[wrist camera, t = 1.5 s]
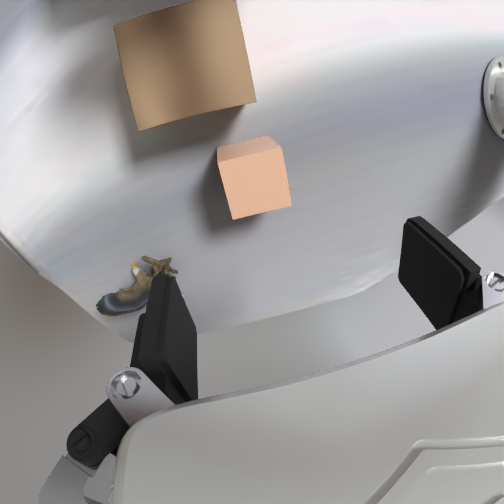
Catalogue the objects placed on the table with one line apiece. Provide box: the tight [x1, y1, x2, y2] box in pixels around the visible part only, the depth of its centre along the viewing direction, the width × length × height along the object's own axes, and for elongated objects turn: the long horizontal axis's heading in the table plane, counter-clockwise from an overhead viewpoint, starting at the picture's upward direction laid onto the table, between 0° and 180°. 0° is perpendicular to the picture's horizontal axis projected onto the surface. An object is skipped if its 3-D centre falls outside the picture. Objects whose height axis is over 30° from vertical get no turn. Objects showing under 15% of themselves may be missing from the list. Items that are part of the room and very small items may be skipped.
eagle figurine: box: [96, 256, 186, 316], centre depth 31 cm, size 8×7×9 cm
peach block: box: [217, 135, 292, 220], centre depth 26 cm, size 5×5×6 cm
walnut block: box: [114, 0, 257, 131], centre depth 20 cm, size 9×9×6 cm
